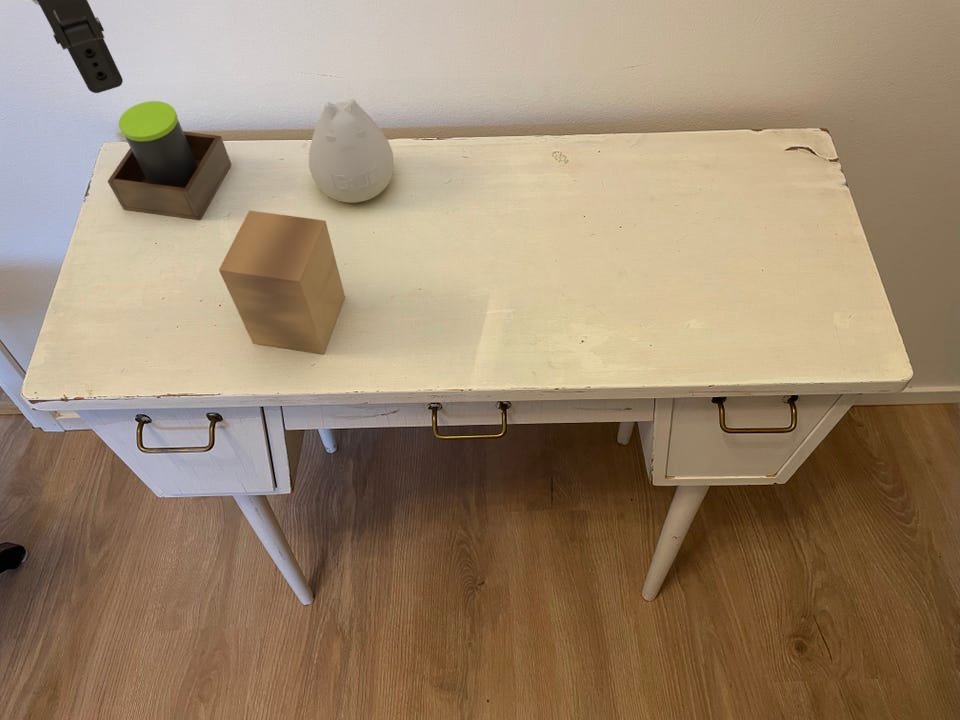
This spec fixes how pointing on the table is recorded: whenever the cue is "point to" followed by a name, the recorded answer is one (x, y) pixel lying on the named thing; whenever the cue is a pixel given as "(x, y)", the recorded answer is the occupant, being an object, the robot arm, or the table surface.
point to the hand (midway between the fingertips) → (92, 53)
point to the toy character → (349, 154)
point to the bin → (169, 199)
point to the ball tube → (158, 143)
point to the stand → (284, 281)
